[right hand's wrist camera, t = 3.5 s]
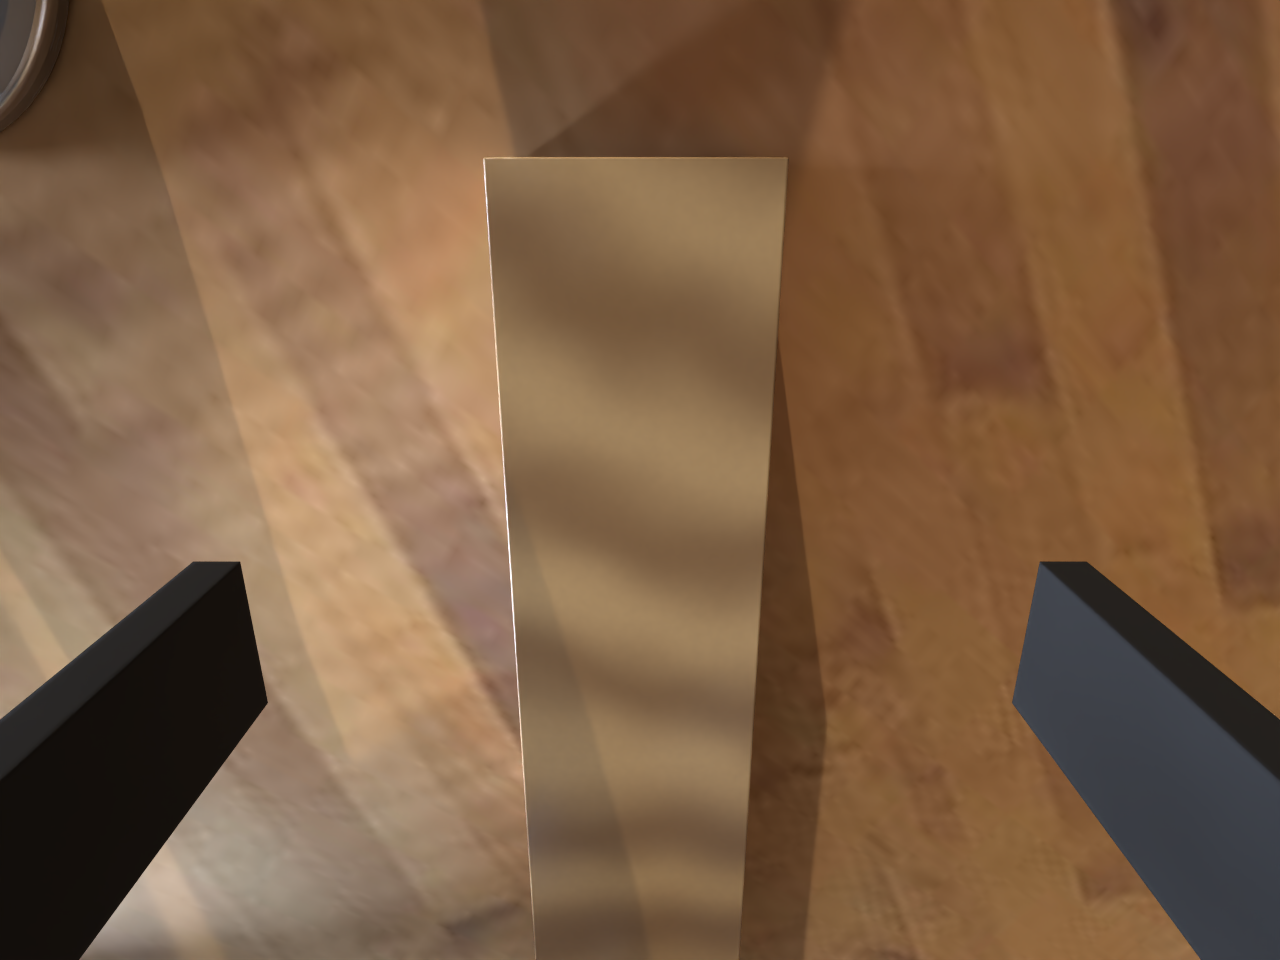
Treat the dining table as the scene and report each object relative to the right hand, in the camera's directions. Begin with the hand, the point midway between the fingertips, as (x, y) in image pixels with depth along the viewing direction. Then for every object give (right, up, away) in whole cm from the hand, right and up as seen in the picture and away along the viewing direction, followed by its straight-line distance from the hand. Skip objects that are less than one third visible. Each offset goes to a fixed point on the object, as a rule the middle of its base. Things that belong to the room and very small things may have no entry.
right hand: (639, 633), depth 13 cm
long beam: (0, -23, +31) cm, 39 cm away
